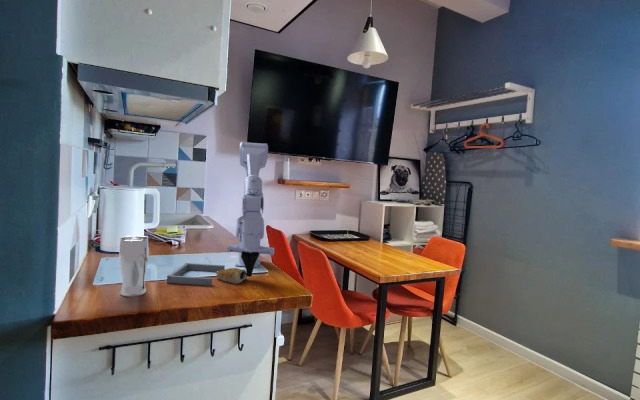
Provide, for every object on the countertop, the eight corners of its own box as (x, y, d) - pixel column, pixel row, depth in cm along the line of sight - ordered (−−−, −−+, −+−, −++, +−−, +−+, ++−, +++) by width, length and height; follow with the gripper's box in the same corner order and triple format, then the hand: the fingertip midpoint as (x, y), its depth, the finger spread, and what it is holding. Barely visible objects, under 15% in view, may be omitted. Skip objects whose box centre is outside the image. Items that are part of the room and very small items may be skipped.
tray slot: (185, 268, 122) (186, 263, 122) (224, 271, 122) (224, 265, 122) (166, 282, 107) (167, 276, 107) (210, 285, 107) (211, 279, 107)
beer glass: (152, 289, 101) (153, 236, 100) (139, 298, 94) (141, 241, 93) (127, 287, 101) (128, 234, 100) (113, 296, 94) (113, 239, 93)
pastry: (211, 279, 112) (211, 267, 112) (223, 274, 119) (224, 263, 118) (237, 284, 109) (238, 272, 109) (249, 279, 116) (249, 267, 115)
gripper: (225, 234, 109) (223, 278, 111) (273, 237, 109) (270, 280, 111) (230, 230, 116) (229, 271, 118) (275, 232, 116) (273, 274, 118)
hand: (249, 275), depth 115 cm, fingers closed
